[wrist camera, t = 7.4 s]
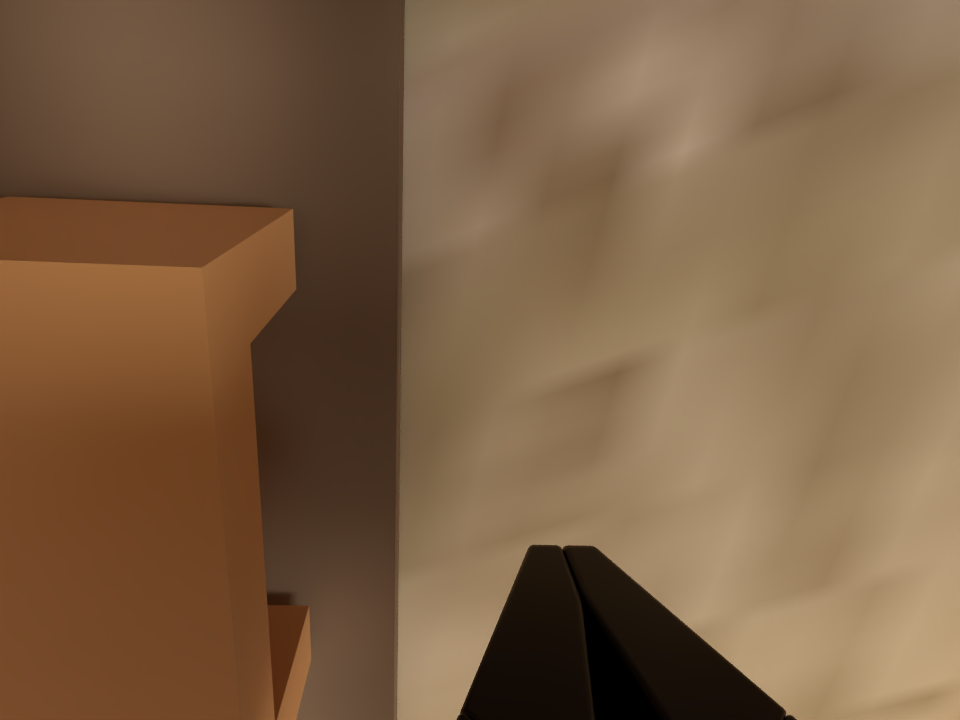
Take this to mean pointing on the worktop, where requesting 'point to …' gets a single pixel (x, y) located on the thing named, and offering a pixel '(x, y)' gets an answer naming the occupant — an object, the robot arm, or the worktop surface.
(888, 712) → the worktop surface
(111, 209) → the orange rectangular block
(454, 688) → the worktop surface
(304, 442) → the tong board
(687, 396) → the worktop surface
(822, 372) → the worktop surface
